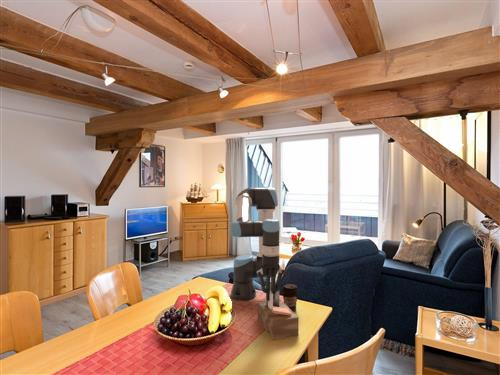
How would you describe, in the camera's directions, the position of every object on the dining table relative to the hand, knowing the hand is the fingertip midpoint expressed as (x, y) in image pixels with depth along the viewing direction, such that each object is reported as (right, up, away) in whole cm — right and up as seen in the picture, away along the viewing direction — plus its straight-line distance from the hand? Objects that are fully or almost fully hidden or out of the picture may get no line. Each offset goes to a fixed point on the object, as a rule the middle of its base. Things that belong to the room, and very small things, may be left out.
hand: (270, 307), depth 123 cm
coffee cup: (+12, -12, +23) cm, 29 cm away
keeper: (+4, -3, +1) cm, 5 cm away
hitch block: (+4, -12, +7) cm, 14 cm away
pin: (+2, -9, +12) cm, 15 cm away
